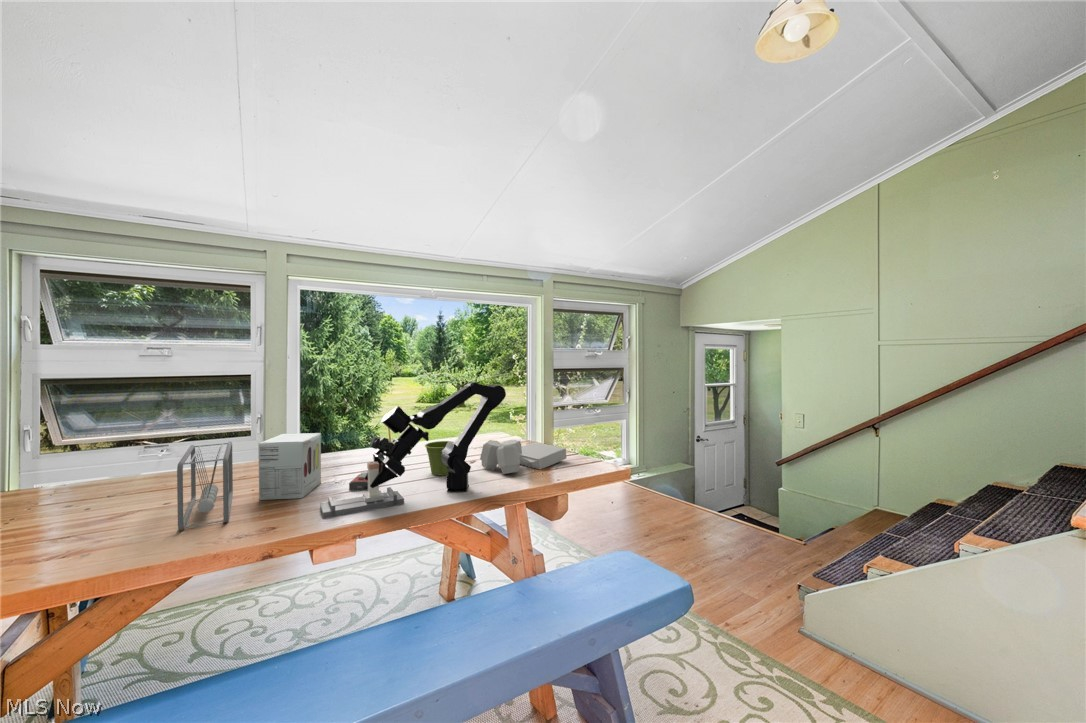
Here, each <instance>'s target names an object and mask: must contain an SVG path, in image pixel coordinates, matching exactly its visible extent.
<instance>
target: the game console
mask: <svg viewBox="0 0 1086 723" xmlns="http://www.w3.org/2000/svg"><path fill="white" fill-rule="evenodd" d="M566 459H567V448H566V447H562V446H557V445H552V444H548V443H546V444H545V443H542V442H537V441H534V442H531V443H528V444H525V445H522V442H521V440H516V439H510V440H505V441H503V442H500V441H498V440H495V439H494V440H493V439H489V440H488V441H486V442H485V443H484V444H483V446H482V449H481V453H480V457H479V460H480V461H481V466H482V468H484V469H486V470H490V469H494V470H495V469H496V468H497V466H498V468H500V470H501V472H502V474H503V475H506V474H511V473H512V474H513V473H517V472H519V468H520V467H519V466H520V464H521V466H523V465H525V466H524V467H527V466H528V467H527V468H531V467H532V469H535V468H536V470H538V469H540V470H542V468H543V469H544V468H547V467H549V466H552V465H554V464H556V463H557V464H558V463H560V462H561V461H563V460H566Z"/></svg>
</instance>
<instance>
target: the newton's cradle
mask: <svg viewBox="0 0 1086 723" xmlns="http://www.w3.org/2000/svg"><path fill="white" fill-rule="evenodd" d="M224 445H226V449H225V452H224V455H223V458H220V455H221V452H222V448H223V447H224ZM211 446H213V449H215V448H216V449H215V451H216V450H217V453H216V454H215V453H214V454H213V451H211V452H208V453H210V454H212V457H208V459H210V458H213V456H215V455H216V456H215V459H210V460H204V457H206V456H208V454H204V455H202V454H203V452H202V449H201V448H202V447H205V448H203V450H204V449H205V452H207V451H210V449H209V450H208V447H211ZM214 446H219V448H218V447H214ZM206 447H207V448H206ZM196 448H197V449H196ZM217 448H218V449H217ZM206 449H207V450H206ZM189 457H190V461H188V462H186V461H187V460H188V459H189ZM219 461H222V491H223V492H222V493H223V494H222V495H218V492H219V486H218V485H216V484H214V483H213V482H214V478H215V474H216V468H217V465H218V462H219ZM209 462H214V465H213V471H212V475H211V479H210V481H209V477H208V474H207V470H206V466H205V463H209ZM184 465H190V493H191V494H190V502H189V503H188V506H187V508H186V511H185V513H184ZM196 473H197V476H196ZM233 476H234V475H233V442H232V441H228V442H223V443H212V444H204V445H203V444H202V445H194V444H192V445H191V444H190V446H189V447H188V449H187V450H186V452H185V453H184V454H183V456H182V457H181V458H180V460H179V462H178V464H177V469H176V478H177V480H176V485H177V486H176V488H177V489H176V490H177V491H176V492H177V494H176V497H177V498H176V499H177V529H178V530H182V531H184V530H185V529H189V527H190V528H194V527H200V526H205V525H211V524H217V523H225V524H226V523H228V522H230V516H231V509H232V508H231V507H232V502H233V494H234V492H233V491H234V490H233V489H234V483H233V482H234V480H233ZM196 477H198V481H199V485H200V489H201V495H200V498H197V491H196V490H197V489H196V488H197V485H196V484H197V483H196V482H197V478H196ZM201 483H202V484H201ZM196 498H197V499H196ZM218 498H222V499H223V500H222V501H223V502H222V503H223V504H222V506H223V507H222V508H223V512H222V513H223V519H222V520H217V521H215V520H214V521H211V522H204V523H200V524H193V525H187V523H188V519H189V518H190V516H191V512H192V510H193V507H194V505H195V503H196V502H197V501H198V503H197V506H196V508H197V511H199V513H200V512H201V513H208V512H211V511H212V510H213V509H214V508H215V506H216V505H215V503H216V501H217V500H216V499H218ZM183 529H184V530H183Z"/></svg>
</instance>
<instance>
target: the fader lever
mask: <svg viewBox="0 0 1086 723" xmlns="http://www.w3.org/2000/svg"><path fill="white" fill-rule="evenodd" d="M366 466H367V467H366V468H367V471H368V490H367V492H362V496H363V498H364V500H365V501H366V503H367V502H373V501H378V500H384V495H383V494H382V493H383V492H382V491H381V490H380V485H378V486H376V487H374V488H371V487H370V485H371V483H372V482H373V480H374V479H375V478H376V476H377V475H378V473H379V463H378V462H377V461H376V462H374V461H370V462H366Z"/></svg>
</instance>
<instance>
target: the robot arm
mask: <svg viewBox="0 0 1086 723" xmlns="http://www.w3.org/2000/svg"><path fill="white" fill-rule="evenodd" d="M474 395H478V396H480V400H479V404H478V406H477V408H476V409H475V411H474V412H473V414H472V416H470V418H469V420H468V422H467V423H466V424H465V426H464V427H463V429H462V431H461V432H460V434H459V436H458V437H457V439H456V440H453V441H452V442H453V443H452V442H450V441H451V440H450V441H449V440H447V441H448V443H447V445H446V447H445V448H444V449H443V450H442V452H443V453H442V455H441V459H442V462H443V463H444V464H445V465H446V466H447V469H449V472H448V474H447V475H446V478H445V479H446V480H445V481H446V484H445V485H446V493H449V492H450V493H455V492H456V493H458V492H459V493H463V492H464V493H465V492H468V489H469V487H470V484H469V473H470V471H471V469H472V466H471V465H470V464H469V463H468V462H466V458H467V455H468V452H469V448H470V445H471V443H472V442H473V440H474V439H475V437H476V435H477V434H478V432H479V431H480V429H481V427H482V426H483V425H484V423H485V421H486V420H487V418H488V417H489V416H490V414H491V412H492V411H493V410H494V409H496V408H497V407H498V406H500V404H501V403H502V402H503V401H504V400H505V398H506V397H507V393H506V389H505V387H504V386H502V385H498V384H487V385H485V384H481V383H478V382H473V381H469V382H467V383H466V384H465V385H464V386H463V387H461V388H460V389H458V390H457V391H455V392H454V393H452V394H451V395H449V396H448V397H447V398H445V399H443V400H442V401H440V402H439V403H437V404H433V405H431V406H429V407H426V408H424V409H421V410H419V411H418V412H417V413H415V414H411V415H408V414H407V413H406V412H405V411H404V410H403V409H402V407H401V406H399V405H396V406H395V407H394V408H392V409H391V410H390V411H389V412H387V413H386V414H384V415H383V417H382V418H381V421H380V422H381V423H382V424H384V426H385V427H387V428H388V429H389V430H390V431H392V432H393V433H394V434H398V433H399V434H400V435H399V436H398V437H397V438H392V439H391V441H390V440H389V438H388V437H384V436H383V437H379V436H376V435H373V436H372V438H371V440H370V443H369V446H370V448H371V449H374V451H373V454H372V458H373V459H372V460H373V462H376V461H377V462H378V463H379V473H378V475H377V476H376V478H375V479H374V480H373V482H372V483H371V485H370V487H371V488H374V487H376V486H378V485H379V486H380V485H382V484H385V483H386V482H388V481H391V480H393V479H395V478H398V477H401V476H402V475H403V474H404V473H405V472H406V467H405V466H404V465H403V462H402V460H404V458H406V456H407V455H408V456H410V455H411V454H412V450H413V448H414V447H416V446H417V444H418V443H419V442H420V441H421V440H425V441H427V442H429V441H430V439H429V438H430V437H429V432H428V431H424V430H422V429H421V428H423V429H425V430H429V431H430V430H432V429H435V428H436V427H437V426H438V425H439V424H440V423H441V422H442V421H443V420H444V418H445V417H446V415H448V414H449V413H450V412H452V411H453V410H454V409H456V408H458V407H459V406H460V405H462V404H463V403H465V402H466V401H468V400H469V399H471V398H472V397H473V396H474ZM411 423H412V424H414V425H415V426H413V425H412V424H411ZM365 479H366V480H368V473H367V475H366V476H365Z"/></svg>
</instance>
